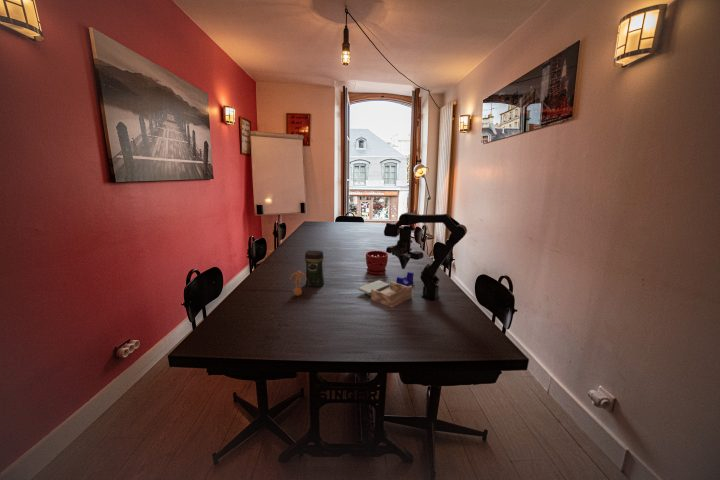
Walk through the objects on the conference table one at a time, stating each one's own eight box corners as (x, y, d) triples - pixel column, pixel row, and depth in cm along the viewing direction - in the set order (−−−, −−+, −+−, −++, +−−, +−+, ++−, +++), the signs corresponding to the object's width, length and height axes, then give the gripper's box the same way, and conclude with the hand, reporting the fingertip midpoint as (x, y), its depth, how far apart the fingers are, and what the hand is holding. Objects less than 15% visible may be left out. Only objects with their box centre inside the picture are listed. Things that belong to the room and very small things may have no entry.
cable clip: (405, 281, 166) (406, 271, 164) (412, 283, 163) (413, 272, 161) (393, 287, 157) (394, 276, 155) (401, 289, 154) (401, 278, 152)
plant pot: (361, 270, 181) (362, 251, 179) (380, 268, 187) (381, 249, 184) (371, 277, 170) (372, 257, 167) (391, 274, 175) (392, 255, 173)
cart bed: (411, 297, 143) (412, 286, 142) (391, 307, 132) (392, 295, 131) (390, 290, 151) (391, 279, 150) (370, 299, 140) (371, 287, 139)
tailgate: (389, 284, 151) (378, 280, 156) (369, 293, 140) (358, 287, 145) (389, 287, 152) (378, 282, 156) (369, 296, 140) (358, 290, 145)
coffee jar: (325, 282, 160) (325, 249, 156) (322, 287, 153) (321, 253, 149) (307, 281, 161) (307, 248, 157) (303, 286, 154) (302, 252, 150)
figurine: (288, 296, 141) (287, 272, 138) (291, 291, 147) (290, 268, 144) (305, 297, 141) (305, 273, 138) (307, 292, 147) (307, 269, 144)
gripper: (379, 237, 145) (378, 268, 148) (412, 244, 133) (409, 277, 136) (393, 234, 153) (392, 263, 156) (425, 240, 140) (422, 272, 144)
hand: (403, 268), depth 148 cm, fingers closed
